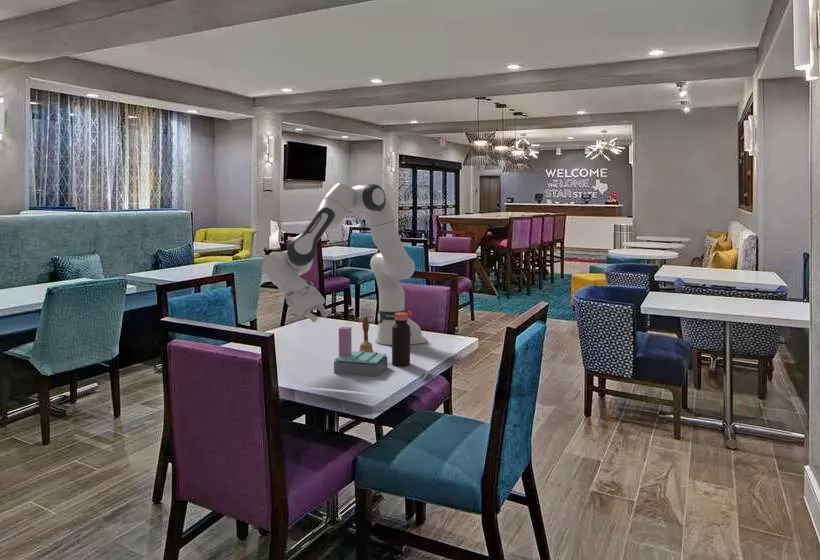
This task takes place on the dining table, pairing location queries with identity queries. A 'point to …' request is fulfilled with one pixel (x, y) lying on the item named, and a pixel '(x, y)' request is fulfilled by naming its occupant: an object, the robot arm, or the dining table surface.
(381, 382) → the dining table surface
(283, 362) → the dining table surface
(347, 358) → the lid
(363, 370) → the tray
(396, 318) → the bottle
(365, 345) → the hand bell
